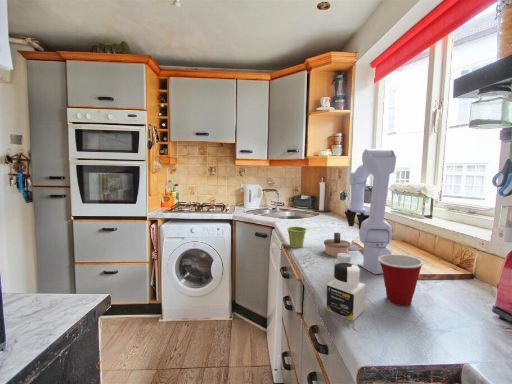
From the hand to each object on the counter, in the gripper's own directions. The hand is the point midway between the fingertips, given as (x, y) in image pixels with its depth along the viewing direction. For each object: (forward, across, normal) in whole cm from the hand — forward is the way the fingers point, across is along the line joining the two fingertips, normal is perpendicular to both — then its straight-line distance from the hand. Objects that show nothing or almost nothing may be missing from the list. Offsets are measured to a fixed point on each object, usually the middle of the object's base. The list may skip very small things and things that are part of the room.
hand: (356, 228), depth 115 cm
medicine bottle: (+10, -45, +35) cm, 58 cm away
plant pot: (+10, +10, +25) cm, 29 cm away
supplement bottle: (+10, -33, +28) cm, 44 cm away
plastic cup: (+10, -44, +18) cm, 49 cm away
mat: (+10, +2, +3) cm, 11 cm away
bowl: (+10, -5, +13) cm, 17 cm away
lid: (+5, -5, +13) cm, 15 cm away
